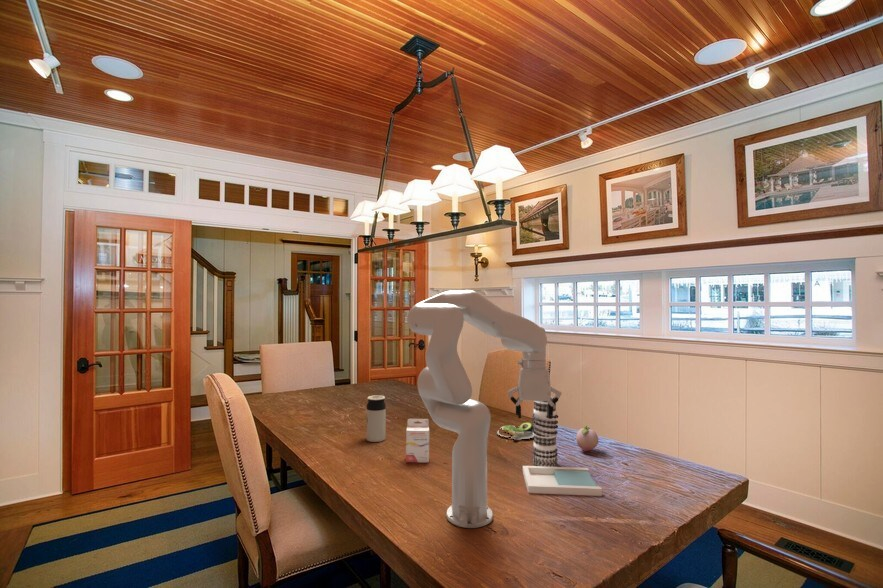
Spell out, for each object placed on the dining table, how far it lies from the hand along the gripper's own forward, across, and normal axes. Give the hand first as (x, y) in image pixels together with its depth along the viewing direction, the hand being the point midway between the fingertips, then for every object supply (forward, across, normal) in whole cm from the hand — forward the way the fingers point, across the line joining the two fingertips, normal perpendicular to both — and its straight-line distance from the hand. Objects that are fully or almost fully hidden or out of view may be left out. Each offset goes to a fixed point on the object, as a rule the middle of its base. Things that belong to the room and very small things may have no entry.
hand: (534, 417), depth 138 cm
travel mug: (+21, -60, +40) cm, 75 cm away
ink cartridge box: (+21, -40, +17) cm, 48 cm away
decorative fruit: (+21, +25, +30) cm, 45 cm away
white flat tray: (+21, +8, -2) cm, 23 cm away
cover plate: (+20, +12, -2) cm, 24 cm away
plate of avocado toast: (+22, +1, +51) cm, 56 cm away
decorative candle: (+21, +6, +13) cm, 26 cm away
